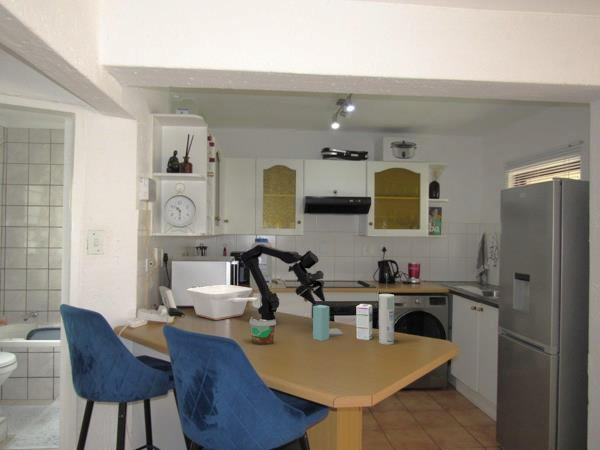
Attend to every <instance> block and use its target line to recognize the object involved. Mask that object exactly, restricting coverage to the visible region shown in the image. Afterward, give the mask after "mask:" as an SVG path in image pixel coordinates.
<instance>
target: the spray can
mask: <svg viewBox="0 0 600 450" xmlns="http://www.w3.org/2000/svg"><path fill="white" fill-rule="evenodd" d="M378 343H379V344H381V345H392V344H394V343H395V295H394V294H391V293H380V294H378Z"/></svg>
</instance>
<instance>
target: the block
mask: <svg viewBox="0 0 600 450" xmlns="http://www.w3.org/2000/svg"><path fill="white" fill-rule="evenodd" d="M312 319H313V320H312V339H314V340H316V341H321V342H322V341H326V340H329V339H330V336H329V329H330V306H328V305H324V304H318V305H313V306H312Z"/></svg>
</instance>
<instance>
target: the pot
mask: <svg viewBox="0 0 600 450" xmlns="http://www.w3.org/2000/svg"><path fill="white" fill-rule="evenodd" d="M186 291H187V294H189V296H190V299H191V302H192V305H193V308H194V312H195V314H196V315H197V316H199V317H202V318H206V319H209V320H214V321H221V320H226V319H230V318H231V319H232V318H236V317H241V316H242V315H243V314H244V313H245V309H246V306H247V303H248V302H256V301H258V297H250V295H251V293H252V292H253V288H252V287H247V286H246V287H245V286H239V285H234V284H233V285H232V284H214V285H207V286H206V285H205V286H197V287H190V288H187V289H186Z"/></svg>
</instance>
